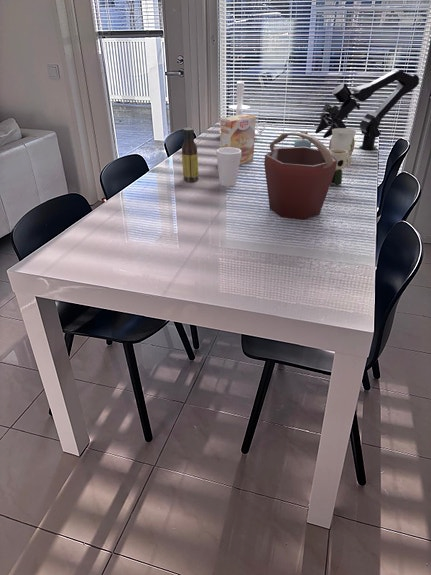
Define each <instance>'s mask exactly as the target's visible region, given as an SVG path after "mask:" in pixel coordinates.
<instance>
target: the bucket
mask: <svg viewBox="0 0 431 575" xmlns="http://www.w3.org/2000/svg"><path fill="white" fill-rule="evenodd" d="M289 136H293V137H294V136H295V137H299V138H302V137H303V138H305V139H307V140H309V141H310V142H311V145H312V144H313V146H314V147H316V148H314V147H311V148H308V147H294V146H293V147H291V146H289V147H288V146H287V147H276V144H279V143H281V142H282V141H284V140H285V139H286V138H287V137H289ZM269 143H270V144H269V149H270V151H269V152H267V153H266V154H264V162H263V163H264V164H263V166H264V172H265V174H264V175H265V180H266V188H267V189H266V190H267V196H268V204H269V210H270V211H272V212H273V213H274V214H276V215H277V216H278V217H280V218H281V219H282V218H283V219H290V220H291V219H293V220H302V221H305V220H307V219H311V218H314V217H318V216H320V213H321V211H322V208H323V206H324V203H325V201H326V197H327V195H328V192H329V189H330V187H331V185H330V184H331V182H332V179H333V176H334V173H335V171H336V164H337V160H336V159H335V157H334V156H333V154H332V153H331V152H329V148H327V147H326V146H325V145H324V143H322V141H321V140H320V139H318V138H316V137H315V136H312V135H310V134H305V133H300V132H286V133H282V134H280V135H279V136H278V137H277V138H275V139H274V140H273V141H272V142H269Z"/></svg>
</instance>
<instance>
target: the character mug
mask: <svg viewBox="0 0 431 575" xmlns="http://www.w3.org/2000/svg"><path fill="white" fill-rule="evenodd" d="M328 150H329V149H328ZM329 152H331V153H332V154H333V156H334V157H335V159H336V160H337V164H336V171H335V173H334V176H333V179H332V182H331V184H330V186H332V184H333V186H341V184H342V180H343V171H342V170H343V169H345V167H346V166H351V165H352V161H353V158H352V157H351V156H350V157H347V155H348V152H347V151H346V150H343V149H330V150H329ZM347 159H348V160H347ZM346 160H347V161H348V162H347V161H346Z"/></svg>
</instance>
